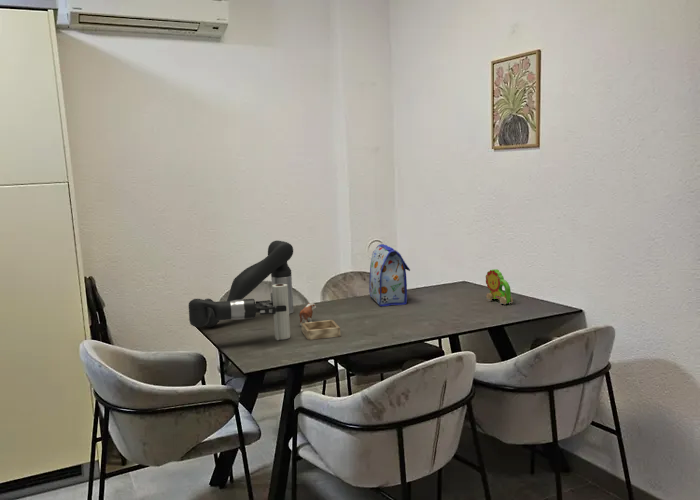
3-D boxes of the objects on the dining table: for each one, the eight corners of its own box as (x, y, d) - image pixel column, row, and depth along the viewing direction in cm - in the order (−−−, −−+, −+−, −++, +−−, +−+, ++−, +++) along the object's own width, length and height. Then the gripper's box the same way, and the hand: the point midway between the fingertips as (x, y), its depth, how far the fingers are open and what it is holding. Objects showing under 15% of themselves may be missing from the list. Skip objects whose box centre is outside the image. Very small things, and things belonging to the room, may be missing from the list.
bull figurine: (318, 319, 271) (317, 301, 269) (306, 327, 258) (305, 308, 257) (309, 319, 272) (308, 301, 271) (296, 327, 259) (295, 308, 258)
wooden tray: (307, 340, 240) (307, 331, 240) (301, 331, 252) (301, 323, 252) (340, 336, 243) (340, 327, 243) (332, 328, 256) (332, 319, 255)
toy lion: (513, 304, 283) (513, 271, 281) (504, 306, 281) (504, 273, 279) (492, 298, 298) (491, 267, 296) (482, 299, 296) (482, 268, 293)
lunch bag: (413, 304, 292) (411, 248, 288) (379, 307, 288) (377, 250, 284) (398, 294, 314) (397, 242, 310) (367, 297, 310) (365, 244, 306)
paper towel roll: (284, 334, 249) (281, 282, 246) (293, 337, 244) (290, 284, 241) (269, 338, 244) (266, 285, 241) (278, 341, 239) (275, 287, 236)
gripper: (241, 314, 245) (281, 311, 250) (244, 323, 232) (287, 319, 236) (240, 296, 244) (281, 293, 249) (244, 303, 231) (287, 300, 235)
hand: (284, 305), depth 242 cm, fingers open, 8 cm apart
